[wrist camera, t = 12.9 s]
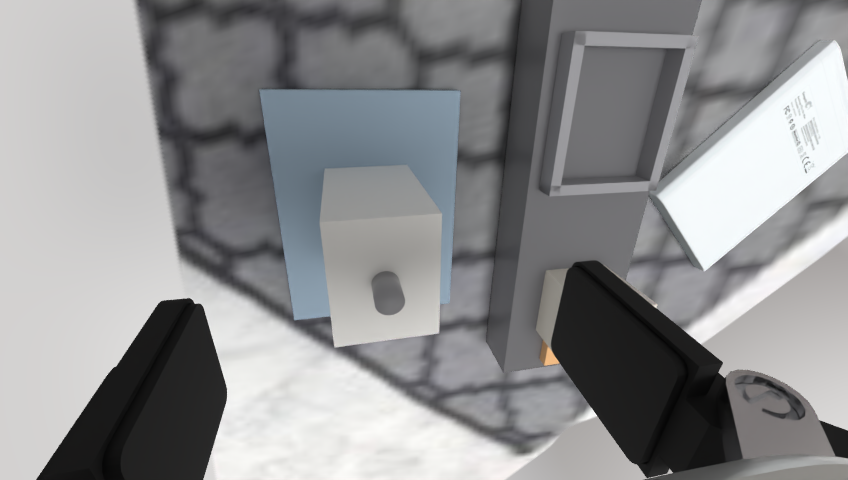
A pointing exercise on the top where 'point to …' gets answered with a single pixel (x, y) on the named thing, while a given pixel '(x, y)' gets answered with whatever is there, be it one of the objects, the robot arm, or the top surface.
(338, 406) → the top surface
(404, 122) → the mat
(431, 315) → the block
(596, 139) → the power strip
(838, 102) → the external hard drive
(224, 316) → the top surface
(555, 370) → the top surface
